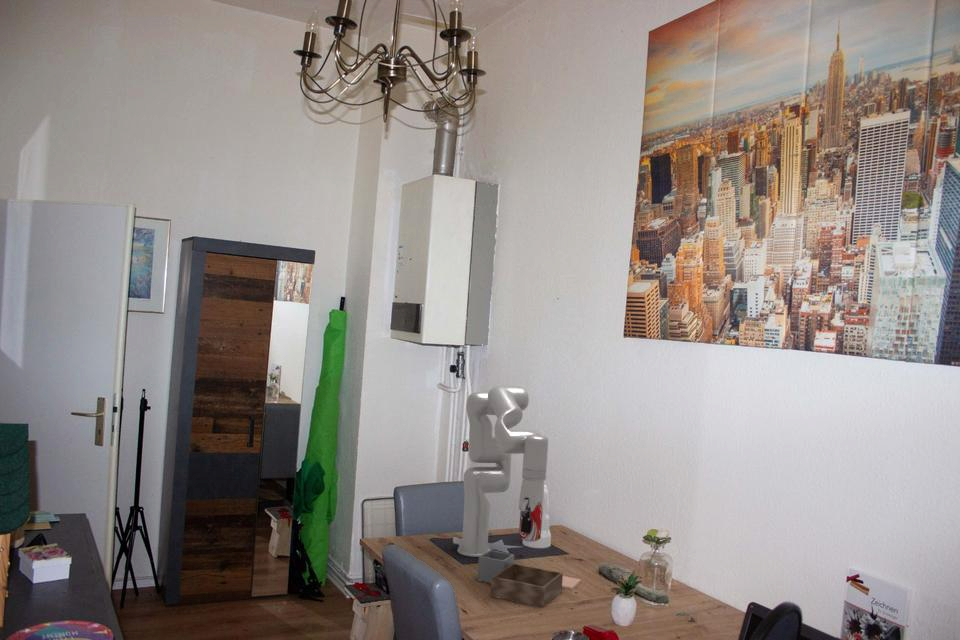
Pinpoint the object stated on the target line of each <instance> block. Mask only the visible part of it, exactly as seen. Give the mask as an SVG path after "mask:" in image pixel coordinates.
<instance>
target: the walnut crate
mask: <svg viewBox="0 0 960 640" xmlns="http://www.w3.org/2000/svg"><path fill="white" fill-rule="evenodd" d="M563 576H564V572H559V571H555V570H550V569H544V568H539V567H534V566H529V565H524V564H519V563H515V562H514V563H513V564H511V565H510V566H508V567H506V568H505V569H503V570H502V571H500V572H499V573H497V574H496V575H494V576H492V582H491V583H490V584H491V585H490V586H491V587H490V596H491V595H492V596H496V597H495V598H497V597H500V598H499V599H501V598H504V599H503V600H506V599H508V600H507V601H511V600H513V601H512V602H515V601H518V602H517V603H521V604H524V603H525V605H530V606H535V607H538V608H545V606H547V605H548V604H549V603H550V602H552V601H553V600H554V599H555V598H556V597H557V596H558V595H560V594H561V593H562V591H563V588H562V581H563ZM492 596H491V597H492Z"/></svg>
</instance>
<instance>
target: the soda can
mask: <svg viewBox="0 0 960 640" xmlns="http://www.w3.org/2000/svg"><path fill="white" fill-rule="evenodd" d="M530 509H531V508H527V509H526V510H530ZM526 513H528V516H529V512H526ZM521 514H522V513H521V511H520V513H519V526H518V527H519V528H518V533H519V534H518V536H519V538H520V539H521V540H522V541H523V540H524V541H529V542H535V541H537V540H539V539H540V537H541V530H542V515H543V508H542V505H541V503H540V504H537V506H536V508H535V511H533V512H532V516H531V520H532V523H531V533H525V532H521V521H522V519H521V517H522V515H521Z"/></svg>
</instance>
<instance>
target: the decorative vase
mask: <svg viewBox="0 0 960 640" xmlns="http://www.w3.org/2000/svg"><path fill="white" fill-rule="evenodd" d="M542 508H543V515H542V530H541V537H540V539H539V540H537V541H535V542H529V541H524V540H522V545H523V546H525V547H528V548H532V549H546V548H547V549H548V548H549V547H551V546H552V545H551V544H552V542H551V541H552V534H551V531H550V523H551V522H550V521H551V519H550V491H549V489H548V487H547V485H546V484H544V497H543V505H542Z"/></svg>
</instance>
